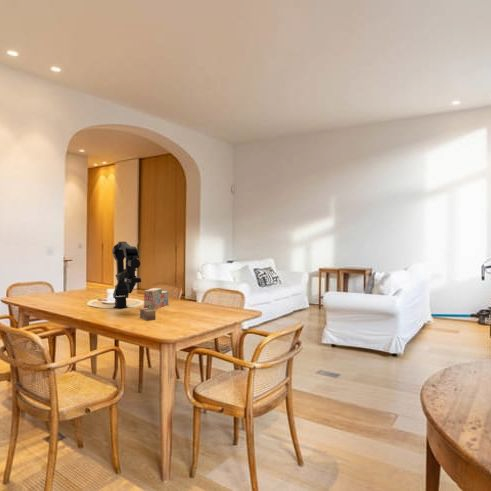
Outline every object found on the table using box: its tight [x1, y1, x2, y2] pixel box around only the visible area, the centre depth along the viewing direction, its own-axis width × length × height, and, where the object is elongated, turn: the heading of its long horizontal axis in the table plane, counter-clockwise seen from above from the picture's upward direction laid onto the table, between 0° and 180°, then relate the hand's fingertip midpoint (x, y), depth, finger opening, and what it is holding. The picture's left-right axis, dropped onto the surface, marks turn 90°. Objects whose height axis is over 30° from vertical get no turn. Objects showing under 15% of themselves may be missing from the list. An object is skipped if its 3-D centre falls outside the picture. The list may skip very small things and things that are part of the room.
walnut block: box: [139, 307, 157, 322], centre depth 221 cm, size 5×5×10 cm
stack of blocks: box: [143, 287, 169, 310], centre depth 258 cm, size 21×6×12 cm, turn 164°
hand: (130, 293), depth 235 cm, fingers closed
